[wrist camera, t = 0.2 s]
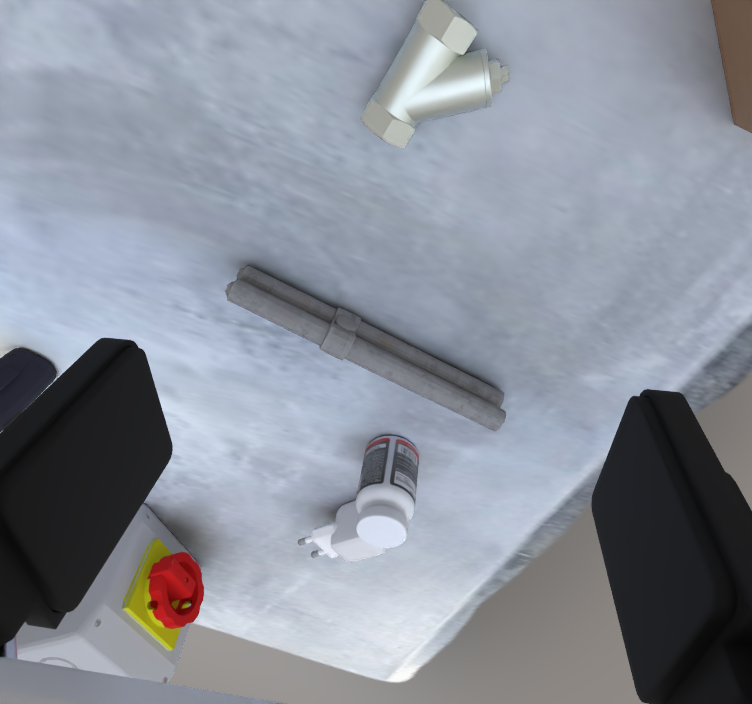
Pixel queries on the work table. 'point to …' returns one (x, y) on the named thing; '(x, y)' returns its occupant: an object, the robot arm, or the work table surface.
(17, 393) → the two-way radio
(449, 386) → the grey double pipe
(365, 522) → the pill bottle
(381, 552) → the power adapter
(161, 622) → the electrical switch box
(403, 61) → the pipe fitting
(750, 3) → the box
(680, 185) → the work table surface
